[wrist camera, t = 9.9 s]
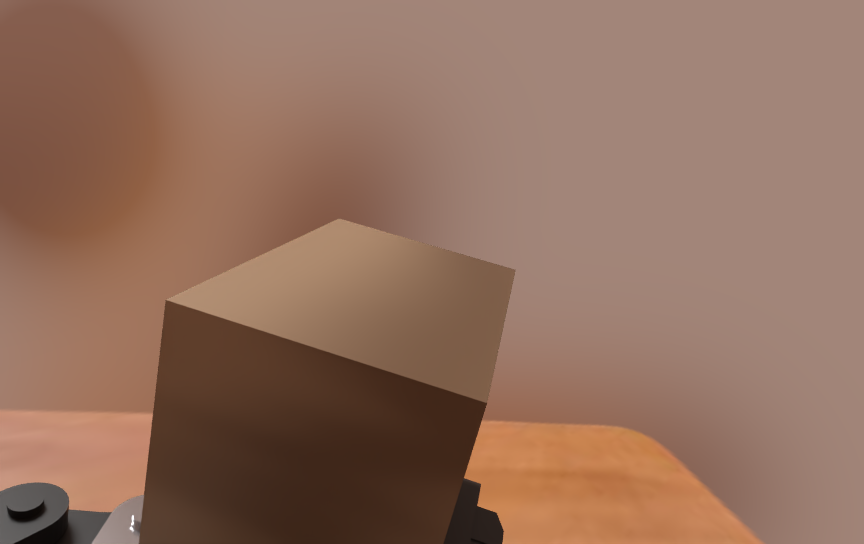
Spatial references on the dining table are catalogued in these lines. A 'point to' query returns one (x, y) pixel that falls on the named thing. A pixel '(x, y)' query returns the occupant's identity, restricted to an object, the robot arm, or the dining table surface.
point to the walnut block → (323, 393)
